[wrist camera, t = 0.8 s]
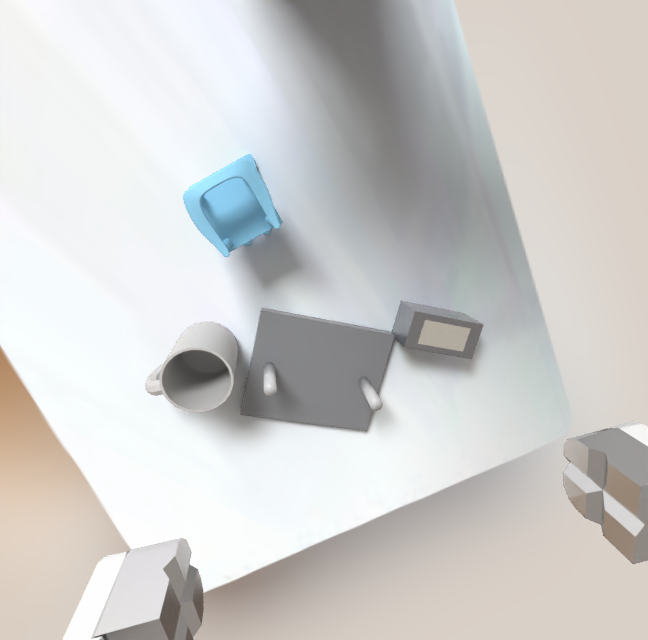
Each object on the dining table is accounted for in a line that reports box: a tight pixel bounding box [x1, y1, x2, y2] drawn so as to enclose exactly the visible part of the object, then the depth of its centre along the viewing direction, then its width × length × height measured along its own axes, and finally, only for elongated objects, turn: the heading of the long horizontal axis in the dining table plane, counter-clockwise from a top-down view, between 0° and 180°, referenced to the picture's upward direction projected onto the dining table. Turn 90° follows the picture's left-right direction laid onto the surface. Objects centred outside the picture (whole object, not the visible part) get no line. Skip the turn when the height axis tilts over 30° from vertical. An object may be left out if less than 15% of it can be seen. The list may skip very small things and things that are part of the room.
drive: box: [392, 301, 483, 359], centre depth 49 cm, size 4×9×5 cm, turn 77°
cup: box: [145, 322, 238, 412], centre depth 43 cm, size 7×10×9 cm
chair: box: [183, 154, 283, 257], centre depth 38 cm, size 8×8×12 cm
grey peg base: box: [241, 308, 395, 431], centre depth 47 cm, size 14×17×7 cm
